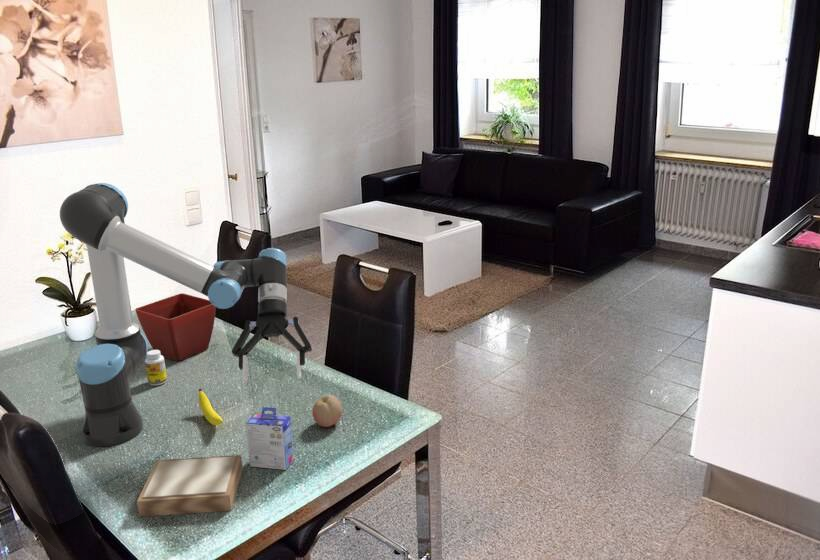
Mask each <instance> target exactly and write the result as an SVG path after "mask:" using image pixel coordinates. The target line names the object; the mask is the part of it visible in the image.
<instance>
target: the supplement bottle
mask: <svg viewBox="0 0 820 560" xmlns="http://www.w3.org/2000/svg"><path fill="white" fill-rule="evenodd" d="M144 365H145V370H146V375H147V376H146V377H147V383H148V384H149V385H150V386H161V385H163V384H166V382H167V381H168V376H167V369H166V363H165V357H164V356H162V355H161V353H160V351H159V350H154V349H151V350H148V351H147V355H146V358H145V360H144Z"/></svg>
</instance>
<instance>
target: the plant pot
mask: <svg viewBox="0 0 820 560" xmlns="http://www.w3.org/2000/svg"><path fill="white" fill-rule="evenodd" d="M216 308H217V307H215V306H214V305H213V304H212V303H211V302H210V301H209V299H206V298H203V297H199V296H194V295H191V294H186V293H184V292H183V293H182V292H181V293H178V294H175V295H171V296H169V297H166V298H163V299H160V300H157V301H154V302H151V303H148V304H145V305H141V306H139V307H136V308H135V313H136V317H137V318H138V321H139V324H140V326H141V327H140V328H141V329H142V330H143V333H144V336H145V338H146V340H147V342H148V343H149V345H150V346H151V348H152V350H159V351H160V353H161V355H162V356H163V357H164V358H167V359H170V360H173V361H176V362H180V361H183V360H185V359H188V358H190V357H192V356H195V355H196V354H199V353H202V352H204V351H207V350H208V349H209V345H210V343H211V339H212V336H213V329H214V326H215V319H216V310H217V309H216Z"/></svg>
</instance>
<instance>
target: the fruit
mask: <svg viewBox="0 0 820 560" xmlns="http://www.w3.org/2000/svg"><path fill="white" fill-rule="evenodd" d="M311 413H312V417H313V420H314V421H315V422H316V424H317V425H318V426H320V427H322V428H323V427H324V428H330V427H331V426H335V425H336V424H337V423H338V422H339V421H340V419H341V418H342V415H343V406H342V403H341V401H340V400H339V399H338V398H337V397H336V396H335V395H332V394H325V395H322V396H320V397H319V398H318V399H317V400H316V402H315V403H314V404H313V407H312V412H311Z"/></svg>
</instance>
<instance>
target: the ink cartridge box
mask: <svg viewBox="0 0 820 560" xmlns="http://www.w3.org/2000/svg"><path fill="white" fill-rule="evenodd" d="M261 409H262V410H261V413H254V414H252V415H251V416H250V417H249V419H248V420H247V421H246V422H245V430H246V439H247V440H246V441H247V449H248V450H247V451H248V460H249V461H248V462H249V467H251V468H264V469H273V470H283V471H286V470H287V469H288V468H289V467H290V465H291V464H292V463H293V461H294V460H295V454H294V453H295V452H294V444H293V443H294V442H293V434H292V433H293V432H292V423H291V415H282V414H281V415H279V414H277V408H276V407H265V406H263V407H262V408H261ZM268 411H269V412H272V413H265V412H268Z"/></svg>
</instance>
